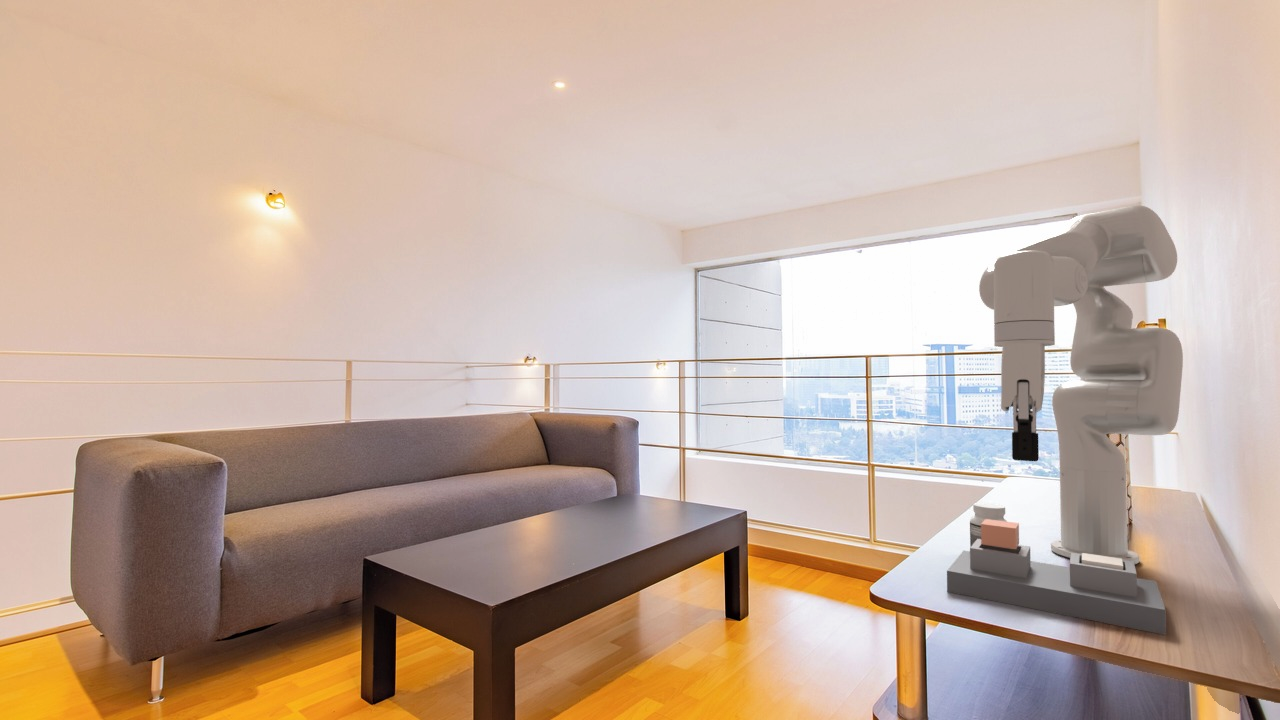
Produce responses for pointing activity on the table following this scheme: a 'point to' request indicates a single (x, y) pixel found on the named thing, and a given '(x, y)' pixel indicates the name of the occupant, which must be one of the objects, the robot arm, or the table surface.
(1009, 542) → the terracotta key
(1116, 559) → the pale key
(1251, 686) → the table surface
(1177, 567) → the table surface
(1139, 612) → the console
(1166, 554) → the table surface
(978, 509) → the pill bottle
